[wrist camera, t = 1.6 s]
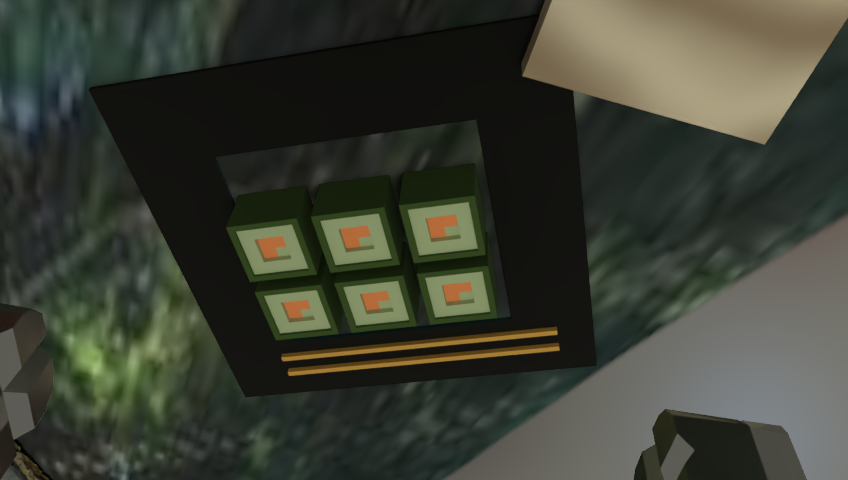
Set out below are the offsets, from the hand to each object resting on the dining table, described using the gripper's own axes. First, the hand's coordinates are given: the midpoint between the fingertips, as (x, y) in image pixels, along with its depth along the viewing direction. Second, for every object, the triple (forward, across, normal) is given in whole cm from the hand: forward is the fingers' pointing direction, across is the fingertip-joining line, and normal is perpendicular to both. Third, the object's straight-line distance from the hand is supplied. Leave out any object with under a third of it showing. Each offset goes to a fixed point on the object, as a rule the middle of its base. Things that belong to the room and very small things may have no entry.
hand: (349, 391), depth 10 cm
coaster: (+30, -12, +1) cm, 32 cm away
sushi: (+32, +2, +19) cm, 37 cm away
